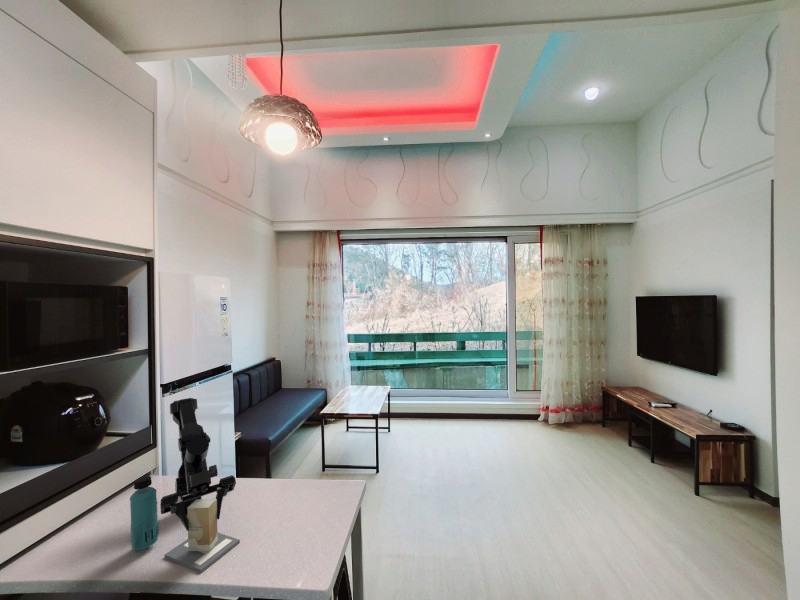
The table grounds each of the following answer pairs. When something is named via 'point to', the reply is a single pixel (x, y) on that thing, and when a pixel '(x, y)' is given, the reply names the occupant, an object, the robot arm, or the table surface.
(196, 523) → the skincare box
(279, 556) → the table surface
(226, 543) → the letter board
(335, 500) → the table surface
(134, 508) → the beverage bottle
